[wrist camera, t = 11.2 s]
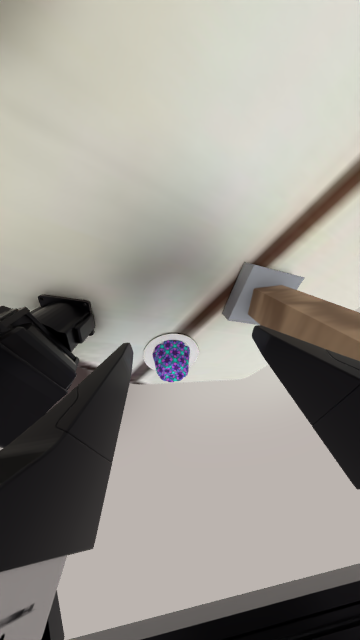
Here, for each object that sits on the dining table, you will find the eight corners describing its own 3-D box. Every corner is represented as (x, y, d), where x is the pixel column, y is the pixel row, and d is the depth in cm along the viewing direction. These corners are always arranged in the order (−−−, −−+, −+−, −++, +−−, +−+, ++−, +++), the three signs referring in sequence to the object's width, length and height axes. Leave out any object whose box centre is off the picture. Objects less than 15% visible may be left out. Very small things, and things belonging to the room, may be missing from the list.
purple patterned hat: (203, 361, 31) (210, 381, 26) (157, 376, 32) (156, 397, 27) (189, 323, 25) (195, 341, 20) (133, 343, 25) (126, 364, 21)
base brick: (222, 313, 24) (227, 320, 22) (244, 262, 19) (254, 264, 17) (262, 319, 26) (270, 326, 24) (290, 274, 21) (304, 277, 19)
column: (247, 314, 22) (348, 399, 10) (253, 288, 19) (396, 360, 7) (272, 310, 22) (400, 390, 10) (282, 284, 19) (462, 349, 8)
